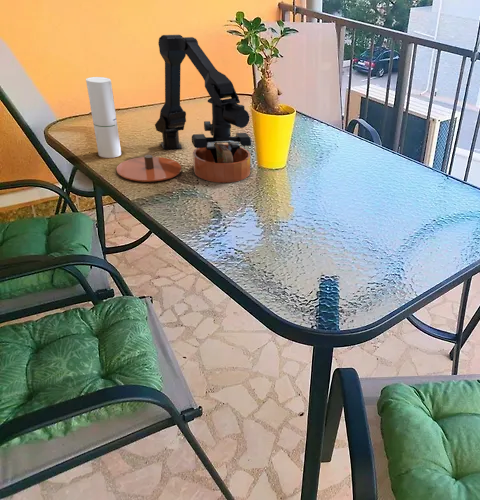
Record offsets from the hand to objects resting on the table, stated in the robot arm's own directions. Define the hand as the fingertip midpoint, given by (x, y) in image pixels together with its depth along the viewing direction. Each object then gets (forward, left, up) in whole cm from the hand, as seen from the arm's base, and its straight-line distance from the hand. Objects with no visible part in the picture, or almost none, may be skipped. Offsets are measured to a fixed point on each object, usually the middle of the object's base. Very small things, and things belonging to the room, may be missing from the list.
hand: (222, 164), depth 159 cm
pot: (0, 0, -3) cm, 3 cm away
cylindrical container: (-21, -34, -3) cm, 40 cm away
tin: (0, 0, -2) cm, 2 cm away
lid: (-4, -23, -2) cm, 23 cm away
